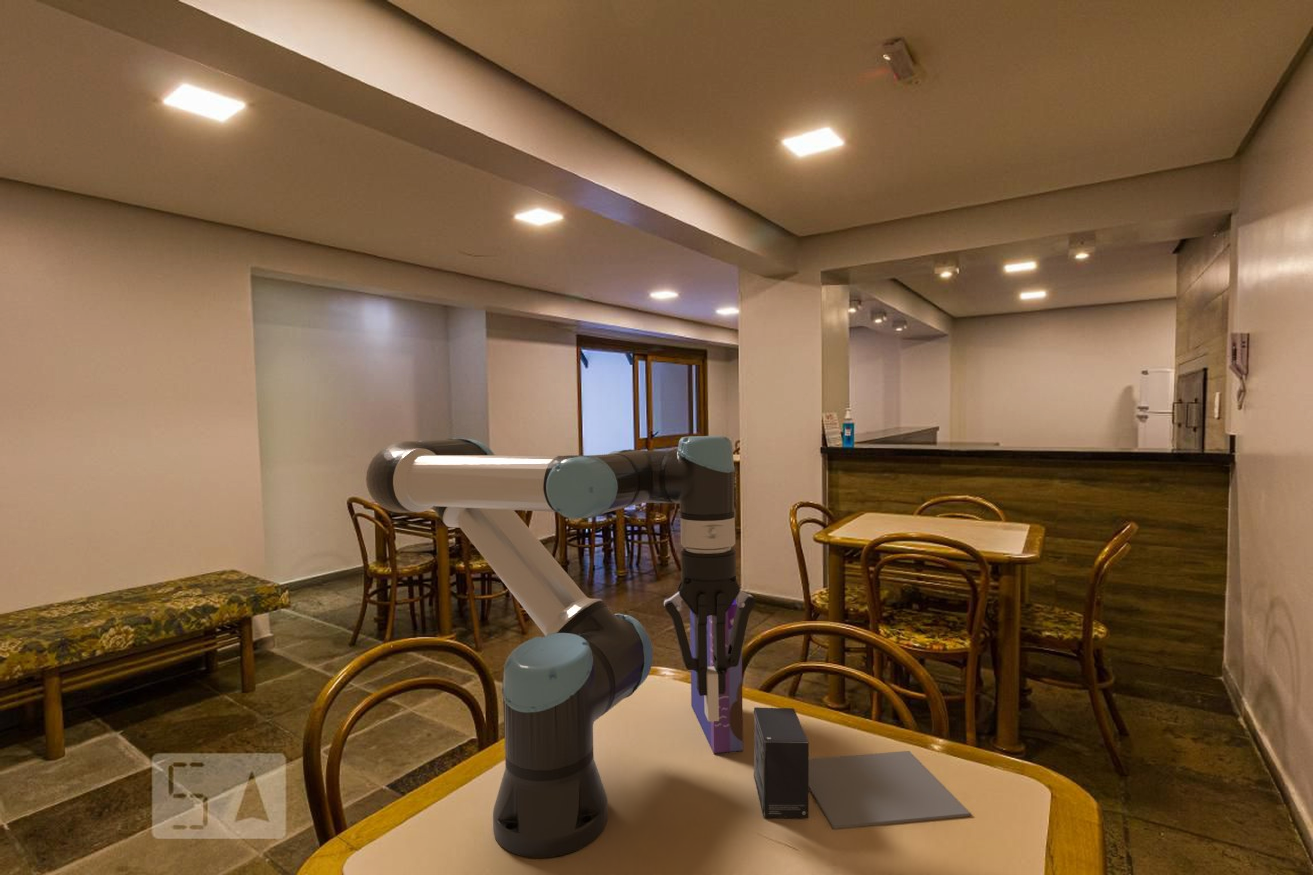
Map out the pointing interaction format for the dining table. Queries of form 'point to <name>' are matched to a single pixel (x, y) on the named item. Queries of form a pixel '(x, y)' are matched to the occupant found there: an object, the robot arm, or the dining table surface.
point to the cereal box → (730, 725)
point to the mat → (879, 790)
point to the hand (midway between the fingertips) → (711, 716)
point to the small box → (781, 763)
